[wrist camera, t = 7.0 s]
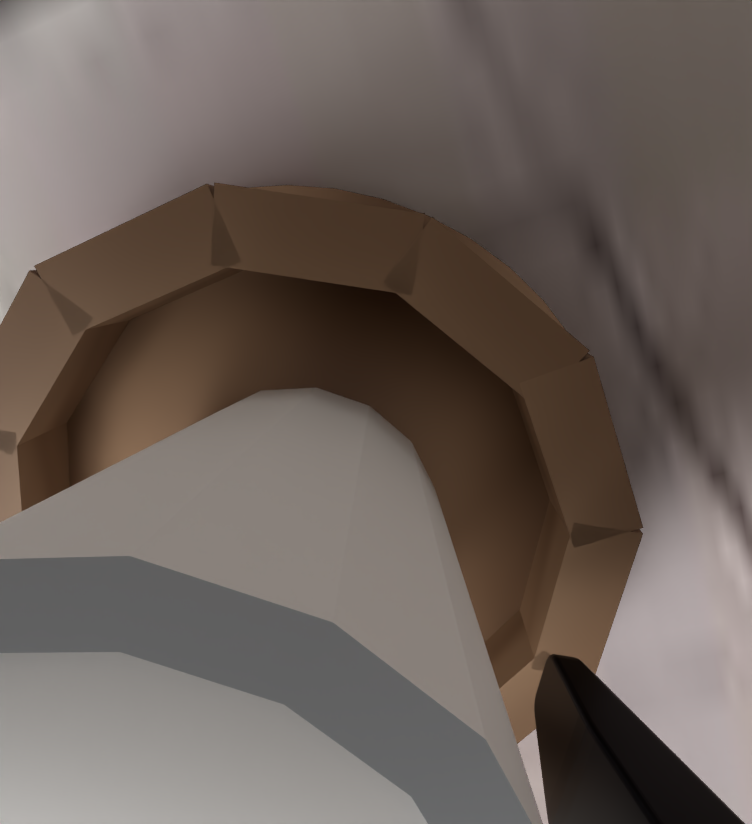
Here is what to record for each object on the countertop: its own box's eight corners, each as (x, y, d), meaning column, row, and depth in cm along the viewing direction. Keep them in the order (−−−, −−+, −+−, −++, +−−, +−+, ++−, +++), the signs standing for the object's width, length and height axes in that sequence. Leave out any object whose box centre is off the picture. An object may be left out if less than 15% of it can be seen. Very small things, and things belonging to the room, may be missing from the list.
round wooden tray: (686, 244, 9) (764, 241, 7) (526, 762, 13) (547, 857, 11) (8, 145, 10) (-103, 114, 8) (43, 679, 14) (-24, 755, 12)
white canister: (145, 625, 12) (-200, 1099, 5) (143, 332, 10) (-426, 484, 3) (439, 671, 12) (476, 1225, 5) (497, 381, 10) (694, 656, 3)
